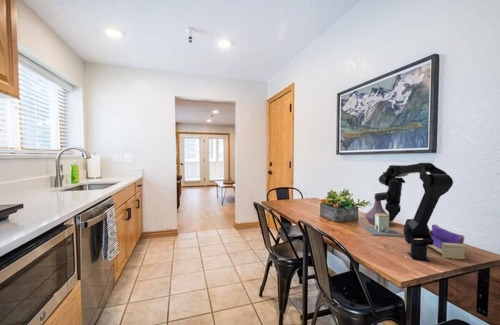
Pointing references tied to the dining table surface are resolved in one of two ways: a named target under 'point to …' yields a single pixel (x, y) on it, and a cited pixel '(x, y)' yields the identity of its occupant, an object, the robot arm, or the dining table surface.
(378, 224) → the stool
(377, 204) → the flask
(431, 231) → the toy sofa
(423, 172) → the robot arm
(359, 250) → the dining table surface
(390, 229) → the mat
